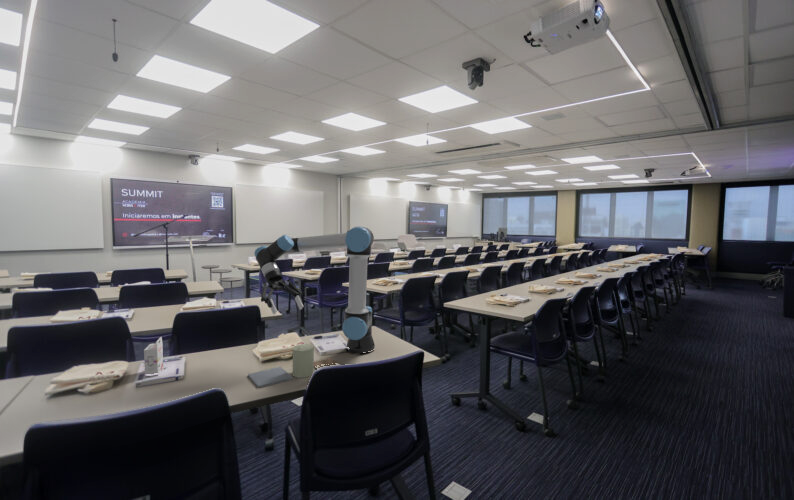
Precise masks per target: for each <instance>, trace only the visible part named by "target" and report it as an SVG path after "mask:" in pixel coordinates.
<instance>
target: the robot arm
mask: <svg viewBox="0 0 794 500" xmlns="http://www.w3.org/2000/svg"><path fill="white" fill-rule="evenodd" d="M374 239H375V236H374V234H373V231H371V229H369V228H368V227H364V226H354V227H352V228H351V229H349V230H347V231H346V232H342V233H341V232H340V233H332V234H322V235H314V236H313V235H312V236H303V237H302V236H301V237H295V238H294V237H290V236H289V235H287V234H283V235H281V236H280V237H277V239H276V240H275V241H274V242H272V243H271V244H269V245H268V246H267V245H261V246H260V247H257V248H255V251H254V257H255V261H256V262H257V263H258V266H259V269H260V270H261V272H262V274H263V277H264V279H265V281H263V283H262V284H261V289H262V292H261V297H260V302H262V303H263V302H264V303H265V304H266V305H267V307H268V308H270V310H271V313H272V314H273V315H276V313H277V312H278V309H277V307H276V306H275V302H274V301H273V298H271V297H272V295H273V293H274V291H275V292H278V291H283V292H286V293H288V294H290V295H291V296H292V297H294V300H295V302H296V304H297V307H298V308H299V311H300V310H302V309H303V308H304V307H305V306H304V304H303V299H302V297H301V296H302V295H303V291H302V290H301V289H299V288H298V287H297V286H296V285H295V284H294V283H293V282H292V281H291V280H290V279H287V280H284V278H283V275H282V272H281V271H280V268H279V267H278V265H277V262H276V261H277V260H278V259H279V258H281V257H282V256H283V255H286V254H293V253H300V252H312V251H321V250H322V251H323V250H332V249H333V250H334V249H343V248H346V255H347V256H348V258H349V266H348V267H349V268H348V269H349V271H348V276H349V277H348V298H347V301H348V303H347V304H348V305H347V308H345V310H344V321H343V323H342V328H341V329H342V333H343V334H344V336H345V337H346V338H347V343H346V344H347V347H349V348H350V349H349V350H348V351H347V352H348V353H350V354H354V353H363V352H368V351H371V350H373V349H374V348H375V349H376V345H375V342H374V339H373V338H374V337H373V335H372V333H373V332H372V331H373V308H372V307H371V306H368V305H367V281H368V261H369V260H368V258H369V257H371V255H372V245H373V243H374ZM268 287H269V288H270V290H269V292H268V294H267V291H268V290H267V289H268Z"/></svg>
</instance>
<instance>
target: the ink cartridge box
mask: <svg viewBox="0 0 794 500" xmlns="http://www.w3.org/2000/svg"><path fill="white" fill-rule="evenodd" d="M163 347H164V346H163V338H162V336H160V337H159V338H158V339H157V340H156V341H155V343H149V344H148V345H147V346H146V347H145V348H144V349H143V355H144V357H143V358H144V359H143V361H144V375H145V374H154V373H159V371H160V370H161V369H162V367H163V368H164V354H163V353H164V352H163V351H164V350H163ZM162 370H163V369H162ZM162 370H161V371H162ZM159 374H160V373H159Z"/></svg>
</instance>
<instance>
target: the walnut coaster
mask: <svg viewBox="0 0 794 500" xmlns="http://www.w3.org/2000/svg"><path fill="white" fill-rule="evenodd" d="M337 362H338V361H336V360H334V359H333V358H331V357H329V358H326V359H322V360H321V359H320V360H316V361H314V367H315V366H316V367H317V365H319V366H320V367H323V366H321V364H325V365H324V366H330V365H336V364H335V363H337ZM332 363H333V364H332ZM326 364H327V365H326ZM328 364H329V365H328ZM320 367H318V368H320ZM316 370H317V368H316Z"/></svg>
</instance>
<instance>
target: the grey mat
mask: <svg viewBox="0 0 794 500" xmlns="http://www.w3.org/2000/svg"><path fill="white" fill-rule="evenodd" d="M247 376H248V378H249V379H250V380H251V382H253V383H254V385H255V386H256V387H257V388H259V389H261V388H263V387H266V386H267V387H268V386H272V385H275V384H278V383H282V382H286V381H290V380H293V379H294V378H293V377H294V376H293V375H292V374H290V373H289V372H287V371H286V370H285V369H284V368H283V367H281V366H278V367H277V366H276V367H272V368H268V369H265V370H260V371H256V372H252V373H248V374H247Z"/></svg>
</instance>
